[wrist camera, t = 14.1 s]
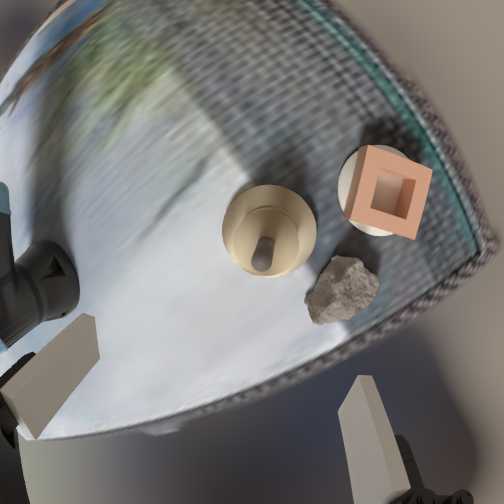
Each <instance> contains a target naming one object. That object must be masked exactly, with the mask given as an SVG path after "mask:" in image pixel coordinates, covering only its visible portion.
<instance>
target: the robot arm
mask: <svg viewBox="0 0 504 504" xmlns="http://www.w3.org/2000/svg"><path fill="white" fill-rule="evenodd" d="M10 214H11V211H10V204H9V190H8V187H7V186H6V185H5V184H4V183H3V182H0V354H1V353H3V352H4V351H7V350H8V348H9V347H11V346H12V345H13V344H14V343H16V342H17V341H18V340H19V339H21V338H22V337H23V336H24V335H26V334H27V333H28V332H30V331H31V330H32V329H33V328H35V327H36V326H37V325H39V324H40V323H41V322H45V321H50V320H54V319H58V318H63V317H65V316H67V315H68V314H69V313H71V312H72V311H73V310H74V309H75V308H76V306H77V304H78V300H79V285H78V280H77V276H76V273H75V270H74V268H73V266H72V263H71V262H70V260H69V258H68V257H67V255H66V254H65V253H64V251H63V250H62V249H61V248H60V247H59V246H58V245H56V244H55V243H53V242H51V241H47V240H43V241H40V242H37V243H35V244H33V245H31V246H30V247H29V248H28V249H27V250H26V251H25V252H24V253H23V254H22V255H21V256H20V257H19V258H18V259H17V260H16V262H14V255H13V247H12V237H11V219H10ZM99 359H100V355H99V349H98V341H97V334H96V325H95V317H93V316H90V315H88V314H85V313H82V314H81V315H80V316H79V317H78V318H76V319H75V320H74V321H73V322H72V323H71V324H69V325H68V326H67V327H66V328H65V329H64V330H63V331H61V332H60V333H59V334H58V335H57V336H56V337H55V338H54V339H52V340H51V341H50V342H49V343H48V344H47V345H46V346H45V347H44V348H43V349H41V350H40V351H39V352H38V353H37V354H36V353H34V352H30V353H28V354H26V355H24V356H22V357H21V358H20V359H19V360H18V361H17V363H15V364H14V365H13V366H12V367H11V368H9V369H8V370H7V371H6V372H5V373H4V374H3V375H2V376H1V377H0V504H30V502H29V498H28V494H27V490H26V485H25V480H24V476H23V470H22V464H21V458H20V452H19V442H18V433H17V429H16V427H17V426H18V425H19V426H20V427H21V429H22V430H23V432H24V433H26V434H27V435H28V436H30V437H31V438H33V439H34V440H35V441H36V440H37V438H38V437H39V435H40V434H41V433H42V431H43V430H44V429H45V427H46V426H47V425H48V423H49V422H50V421H51V419H52V418H53V417H54V415H55V414H56V413H57V411H58V410H59V409H60V408H61V406H62V405H63V404H64V402H65V401H66V400H67V399H68V397H69V396H70V395H71V393H72V392H73V391H74V390H75V388H76V387H77V386H78V385H79V383H80V382H81V381H82V380H83V378H84V377H85V376H86V375H87V374H88V372H89V371H90V370H91V369H92V367H93V366H94V365H95V364H96V363H97V361H98V360H99ZM338 415H339V420H340V424H341V430H342V435H343V440H344V445H345V451H346V456H347V461H348V468H349V473H350V479H351V486H352V492H353V499H354V504H473V502H474V501H473V496H472V494H471V493H470V492H469V491H467V490H464V489H463V490H459V491H457V492H455V493H454V494H453V495H451V496H441V495H436V494H435V493H434V492H433V491H432V490H430V489H426V488H425V487H424V485H423V482H422V479H421V476H420V473H419V470H418V468H417V465H416V462H415V461H414V456H413V454H412V451H411V448H410V445H409V443H408V441H407V440H406V439H405V438H404V437H403V436H402V435H395V436H394V434H393V431H392V429H391V425H390V423H389V420H388V417H387V414H386V412H385V409H384V407H383V404H382V401H381V398H380V396H379V393H378V391H377V388H376V386H375V383H374V381H373V378H372V376H365V375H358V376H357V378H356V380H355V382H354V384H353V386H352V388H351V389H350V391H349V393H348V395H347V397H346V398H345V400H344V402H343V404H342V405H341V407H340V409H339V410H338Z"/></svg>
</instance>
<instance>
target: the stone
mask: <svg viewBox="0 0 504 504" xmlns="http://www.w3.org/2000/svg"><path fill="white" fill-rule="evenodd" d="M379 284H380V283H379V278H378V277H377V276H376V275H375V274H372V273H370V272H369V271H368V270H367V269H366V268H365V267H364V264H363V262H362V261H361V260H360V259H359V258H355V257H354V258H350V257H341V256H338V255H336V256H334V257H332V260H331V262H330V263H329V265H328V266H327V267H326V268H325V270H324V271H323V272H322V273H321V274H320V277H319V279H318V281H317V282H316V285H315V287H314V290H313V291H312V293H310V294H309V295H307V296H306V297H305V300H304V303H305V304H306V305H307V306H308V311H309V314H310V317H311V319H312V322H313V323H314V324H318V325H323V324H324V323H333V322H336V321H339V320H341V319H351V318H352V317H353V316H354V315H356V314H357V313H358V312H359V310H361V309H363V308H366V307H367V306H368V305H369V304H370V302H371V301H372V300H373V298H374V297H375V295H376V292H377V289H378V287H379Z"/></svg>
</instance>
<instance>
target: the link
mask: <svg viewBox="0 0 504 504" xmlns="http://www.w3.org/2000/svg"><path fill="white" fill-rule="evenodd" d="M379 170H381V171H384V172H386V173H389V174H392V175H395V176H398V177H400V178H403V183H402V187H401V191H400V195H399V199H398V203H397V207H396V210H395V214H391V213H388V212H385V211H382V210H379V209H375V208H372V207H371V203H372V199H373V195H374V191H375V187H376V183H377V179H378V175H379ZM431 175H432V169H430V168H427V167H425V166H423V165H420V164H418V163H415V162H413V161H411V160H408V159H406V158H403V157H401V156H398V155H395V154H393V153H390V152H387V151H385V150H382V149H379V148H376V147H373V146H370V145H366V146H362V147H359V151H358V155H357V160H356V164H355V169H354V173H353V177H352V181H351V185H350V189H349V193H348V197H347V201H346V205H345V209H344V213H343V215H344V216H345V217H346V218H348V219H349V220H351V221H354V222H358V223H361V224H365V225H368V226H372V227H375V228H378V229H382V230H385V231H388V232H392V233H395V234H398V235H401V236H404V237H407V238H411V239H414V240H415V237H416V234H417V230H418V227H419V223H420V220H421V216H422V213H423V209H424V205H425V201H426V197H427V193H428V189H429V184H430V180H431Z"/></svg>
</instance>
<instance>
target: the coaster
mask: <svg viewBox="0 0 504 504" xmlns="http://www.w3.org/2000/svg"><path fill="white" fill-rule="evenodd" d="M371 146H373V147H376V148H379V149H382V150H385V151H387V152H390V153H393V154H395V155H398V156H401V157H403V158H406V159H408V158H407V157H406V156H405V155H404V154H403V153H401V152H400V151H398V150H397V149H394V148H392V147H389V146H385V145H371ZM358 151H359V150H358ZM358 151H356V152H355V153H354V154H352V155H351V156H350V157H349V158H348V160H347V161H346V162H345V164H344V165H343V167H342V169H341V172H340V175H339V179H338V187H337V191H338V199H339V203H340V206H341V208H342V210H343V213H344V209H345V205H346V201H347V197H348V193H349V189H350V185H351V181H352V177H353V173H354V169H355V164H356V160H357V155H358ZM408 160H409V159H408ZM402 183H403V178H400V177H398V176H395V175H392V174H389V173H386V172H384V171H381V170H379V175H378V179H377V183H376V187H375V191H374V195H373V199H372V203H371V207H372V208H375V209H379V210H382V211H385V212H388V213H391V214H395V210H396V207H397V203H398V199H399V195H400V191H401V187H402ZM347 219H348V218H347ZM348 220H349V219H348ZM349 221H350V222H351V223H352V224H353V225H354V226H355V227H357V228H358V229H359V230H361V231H363V232H365V233H367V234H370V235H375V236H387V235H391V234H394V233H392V232H388V231H385V230H382V229H378V228H375V227H372V226H368V225H365V224H361V223H358V222H354V221H351V220H349Z"/></svg>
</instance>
